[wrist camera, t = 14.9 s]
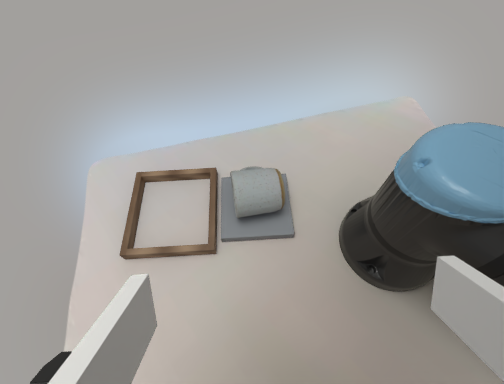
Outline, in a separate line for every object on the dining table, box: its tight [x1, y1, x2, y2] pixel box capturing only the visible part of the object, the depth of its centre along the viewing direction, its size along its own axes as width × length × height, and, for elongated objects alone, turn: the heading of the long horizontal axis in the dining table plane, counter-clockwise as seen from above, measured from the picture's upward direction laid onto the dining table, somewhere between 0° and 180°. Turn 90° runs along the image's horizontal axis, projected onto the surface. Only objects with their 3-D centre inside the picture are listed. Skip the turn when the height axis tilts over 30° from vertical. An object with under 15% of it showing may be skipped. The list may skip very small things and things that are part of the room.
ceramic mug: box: [230, 167, 285, 218], centre depth 44 cm, size 11×8×8 cm
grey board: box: [221, 174, 294, 242], centre depth 47 cm, size 12×12×2 cm
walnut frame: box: [120, 168, 217, 259], centre depth 47 cm, size 15×16×2 cm
